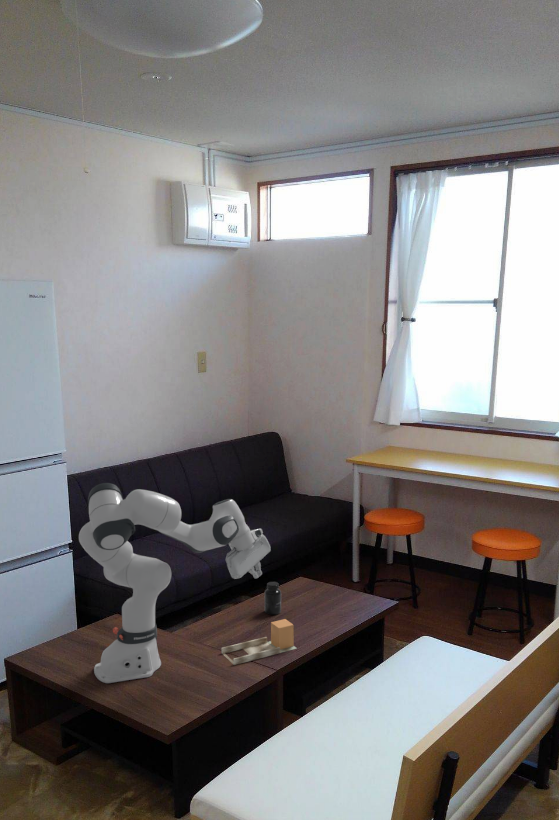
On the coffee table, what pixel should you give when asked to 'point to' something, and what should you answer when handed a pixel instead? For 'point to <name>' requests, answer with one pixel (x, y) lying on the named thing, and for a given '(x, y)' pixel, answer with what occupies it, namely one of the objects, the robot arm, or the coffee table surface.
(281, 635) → the orange block
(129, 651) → the robot arm
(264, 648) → the chute
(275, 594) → the supplement bottle
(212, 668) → the coffee table surface
